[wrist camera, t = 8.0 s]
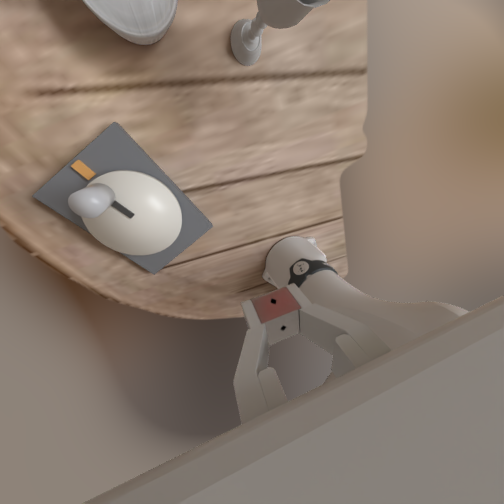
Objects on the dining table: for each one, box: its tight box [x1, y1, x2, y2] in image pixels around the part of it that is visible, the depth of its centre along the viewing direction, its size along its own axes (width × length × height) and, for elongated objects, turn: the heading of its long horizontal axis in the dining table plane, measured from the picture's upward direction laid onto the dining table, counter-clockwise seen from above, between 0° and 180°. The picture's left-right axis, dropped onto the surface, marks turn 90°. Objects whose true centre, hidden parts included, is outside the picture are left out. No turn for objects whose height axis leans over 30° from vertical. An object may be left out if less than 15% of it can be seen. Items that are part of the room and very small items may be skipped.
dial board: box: [33, 122, 213, 274], centre depth 34 cm, size 22×17×3 cm
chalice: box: [231, 0, 330, 66], centre depth 21 cm, size 7×7×18 cm
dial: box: [68, 170, 182, 255], centre depth 30 cm, size 15×15×8 cm
